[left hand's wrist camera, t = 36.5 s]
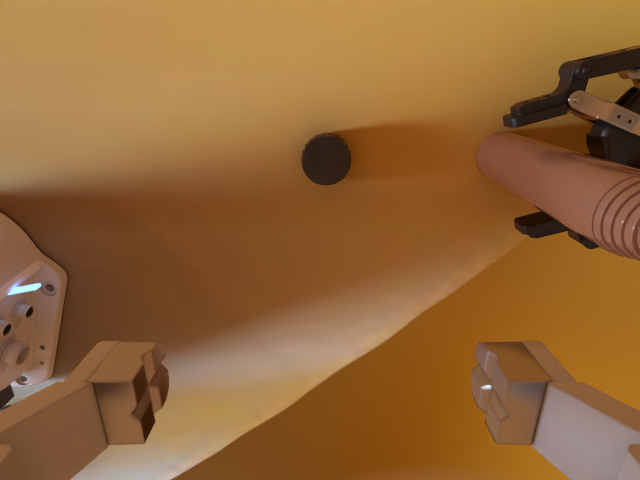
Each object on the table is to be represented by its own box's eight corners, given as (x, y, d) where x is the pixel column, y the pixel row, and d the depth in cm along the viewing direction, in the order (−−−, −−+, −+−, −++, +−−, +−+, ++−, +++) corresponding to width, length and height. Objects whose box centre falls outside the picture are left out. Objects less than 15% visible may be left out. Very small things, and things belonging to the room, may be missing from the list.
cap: (341, 186, 38) (342, 191, 37) (296, 172, 38) (295, 177, 36) (356, 141, 37) (358, 144, 35) (309, 126, 36) (309, 129, 35)
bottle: (489, 189, 38) (681, 317, 18) (467, 150, 37) (647, 240, 16) (533, 162, 37) (791, 264, 17) (512, 121, 36) (763, 177, 15)
